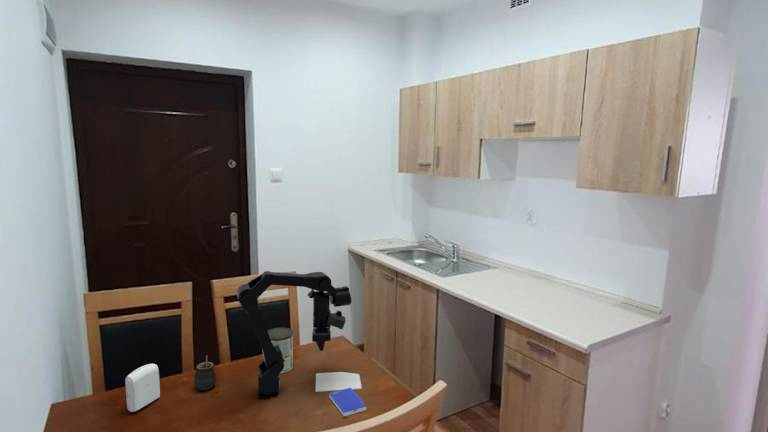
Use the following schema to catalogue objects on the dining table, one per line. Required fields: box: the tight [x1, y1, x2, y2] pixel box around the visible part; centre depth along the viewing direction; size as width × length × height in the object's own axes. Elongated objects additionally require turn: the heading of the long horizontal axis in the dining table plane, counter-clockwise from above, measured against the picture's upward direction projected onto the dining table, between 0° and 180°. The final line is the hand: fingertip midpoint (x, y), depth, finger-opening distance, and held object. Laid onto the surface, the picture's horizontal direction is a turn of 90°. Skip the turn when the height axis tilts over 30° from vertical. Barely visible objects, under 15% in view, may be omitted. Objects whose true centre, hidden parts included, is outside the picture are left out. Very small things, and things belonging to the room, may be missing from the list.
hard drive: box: [328, 388, 368, 417], centre depth 137 cm, size 2×8×12 cm
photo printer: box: [124, 363, 161, 413], centre depth 135 cm, size 10×4×12 cm, turn 158°
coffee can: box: [267, 327, 294, 374], centre depth 160 cm, size 10×10×14 cm
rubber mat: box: [315, 371, 363, 393], centre depth 151 cm, size 16×12×1 cm
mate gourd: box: [193, 354, 217, 391], centre depth 146 cm, size 7×8×10 cm
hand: (321, 350), depth 149 cm, fingers closed
